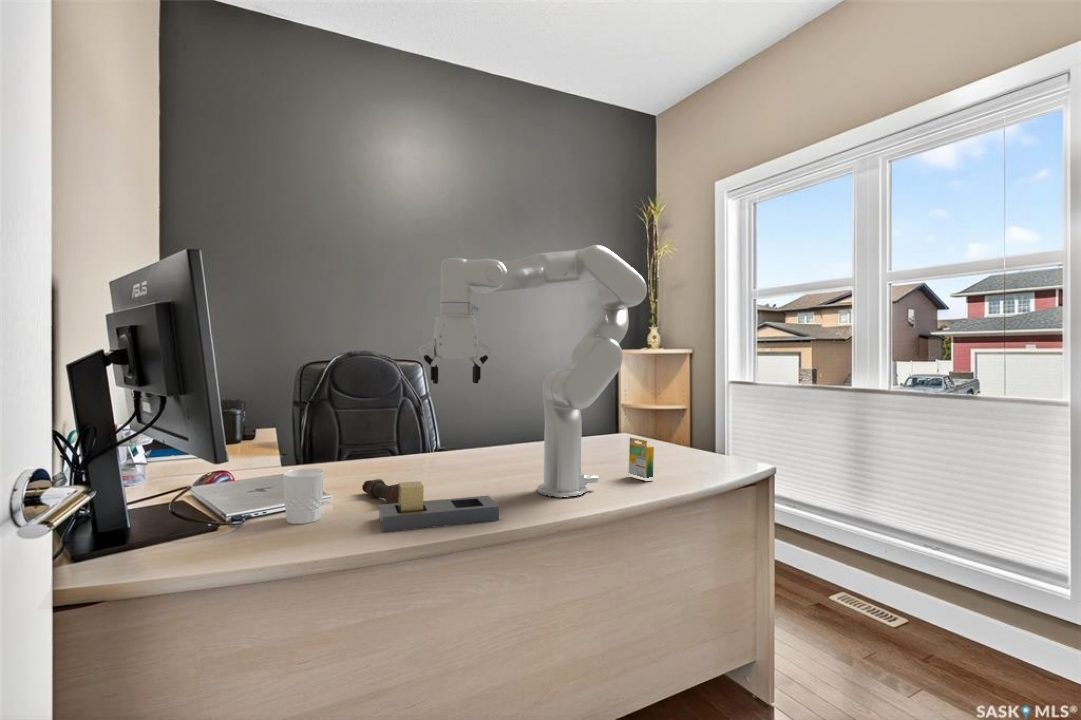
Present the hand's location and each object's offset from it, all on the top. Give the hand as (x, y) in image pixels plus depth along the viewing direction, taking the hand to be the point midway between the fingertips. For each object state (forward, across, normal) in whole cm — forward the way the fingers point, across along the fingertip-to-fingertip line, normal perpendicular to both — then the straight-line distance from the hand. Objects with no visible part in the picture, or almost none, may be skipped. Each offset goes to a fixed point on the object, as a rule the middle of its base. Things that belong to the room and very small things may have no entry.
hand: (455, 383), depth 131 cm
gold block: (+28, +12, +13) cm, 33 cm away
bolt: (+29, +16, -6) cm, 33 cm away
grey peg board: (+28, +6, +13) cm, 32 cm away
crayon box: (+29, -55, -6) cm, 62 cm away
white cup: (+28, +33, +4) cm, 44 cm away
